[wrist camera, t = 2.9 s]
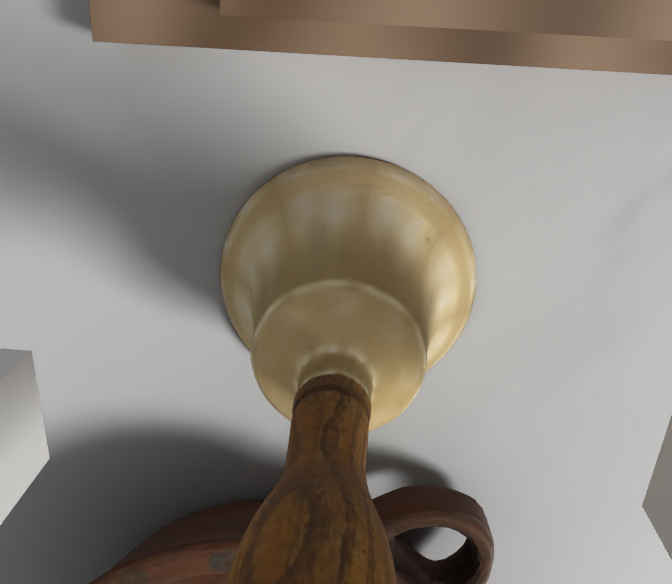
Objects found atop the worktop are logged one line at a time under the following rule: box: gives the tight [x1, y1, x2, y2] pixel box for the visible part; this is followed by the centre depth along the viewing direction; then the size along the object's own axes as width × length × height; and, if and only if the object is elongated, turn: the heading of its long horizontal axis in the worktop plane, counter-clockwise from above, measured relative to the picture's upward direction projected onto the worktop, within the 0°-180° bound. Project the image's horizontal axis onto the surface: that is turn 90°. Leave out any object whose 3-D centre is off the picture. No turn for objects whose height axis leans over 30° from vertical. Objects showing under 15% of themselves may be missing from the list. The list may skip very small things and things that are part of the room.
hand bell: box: [220, 156, 477, 584], centre depth 13 cm, size 8×8×16 cm
